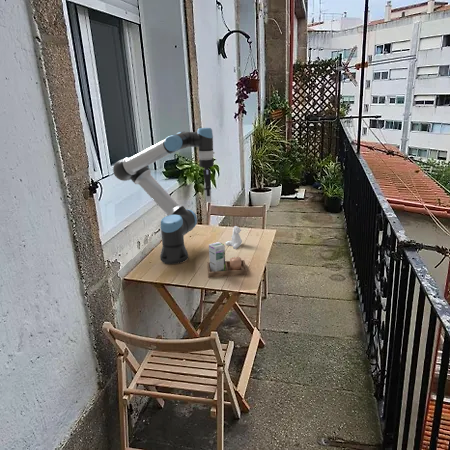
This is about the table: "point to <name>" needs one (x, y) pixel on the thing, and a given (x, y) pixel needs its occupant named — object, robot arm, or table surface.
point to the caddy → (228, 270)
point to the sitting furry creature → (235, 238)
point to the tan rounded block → (235, 263)
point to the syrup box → (217, 257)
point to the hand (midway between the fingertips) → (208, 198)
